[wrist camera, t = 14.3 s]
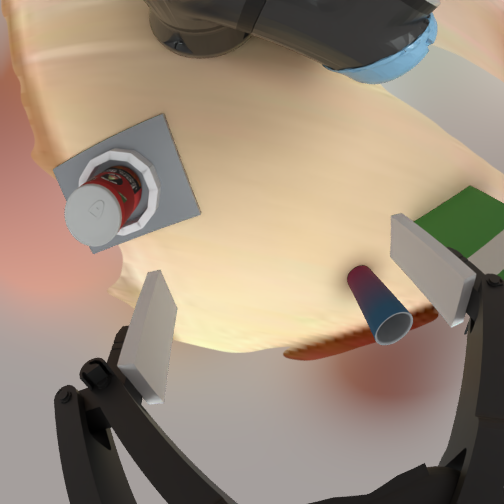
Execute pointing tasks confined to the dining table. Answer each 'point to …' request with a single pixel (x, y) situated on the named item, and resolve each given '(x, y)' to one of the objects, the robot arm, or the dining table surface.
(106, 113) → the dining table surface
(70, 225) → the canned food
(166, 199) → the holder
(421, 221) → the hardback book
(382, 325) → the cup
